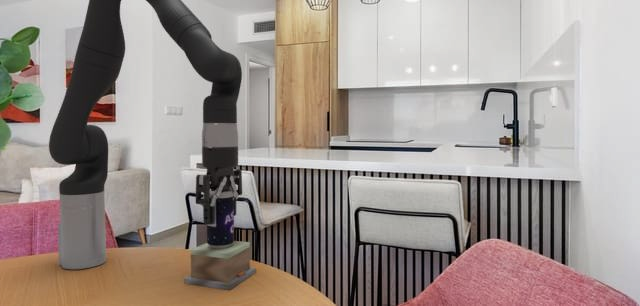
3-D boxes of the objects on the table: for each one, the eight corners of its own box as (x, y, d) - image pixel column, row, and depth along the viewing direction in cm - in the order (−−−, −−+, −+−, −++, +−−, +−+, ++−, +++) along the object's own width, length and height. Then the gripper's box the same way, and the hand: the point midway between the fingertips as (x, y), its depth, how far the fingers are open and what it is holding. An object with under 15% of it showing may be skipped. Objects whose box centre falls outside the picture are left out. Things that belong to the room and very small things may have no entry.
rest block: (184, 283, 85) (183, 250, 85) (214, 266, 95) (213, 237, 95) (229, 290, 81) (229, 255, 81) (256, 272, 92) (255, 241, 91)
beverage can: (227, 250, 85) (227, 193, 84) (202, 248, 86) (201, 192, 85) (237, 243, 90) (237, 189, 90) (214, 241, 91) (213, 188, 91)
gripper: (223, 143, 95) (223, 212, 96) (184, 145, 81) (185, 225, 82) (252, 144, 92) (252, 214, 93) (216, 146, 79) (217, 228, 80)
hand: (220, 219), depth 88 cm, fingers open, 8 cm apart
